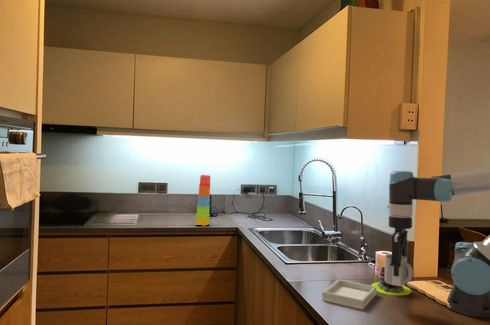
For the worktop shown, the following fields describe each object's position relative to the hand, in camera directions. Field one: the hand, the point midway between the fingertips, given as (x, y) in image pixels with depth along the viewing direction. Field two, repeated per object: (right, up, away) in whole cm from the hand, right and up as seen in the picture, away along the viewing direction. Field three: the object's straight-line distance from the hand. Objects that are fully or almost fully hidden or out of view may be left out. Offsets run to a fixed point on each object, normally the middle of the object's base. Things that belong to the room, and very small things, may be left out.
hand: (398, 282), depth 142 cm
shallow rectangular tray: (-15, -8, +9) cm, 19 cm away
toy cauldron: (+4, -9, +20) cm, 23 cm away
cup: (0, -1, -1) cm, 1 cm away
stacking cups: (-82, -2, +140) cm, 162 cm away
